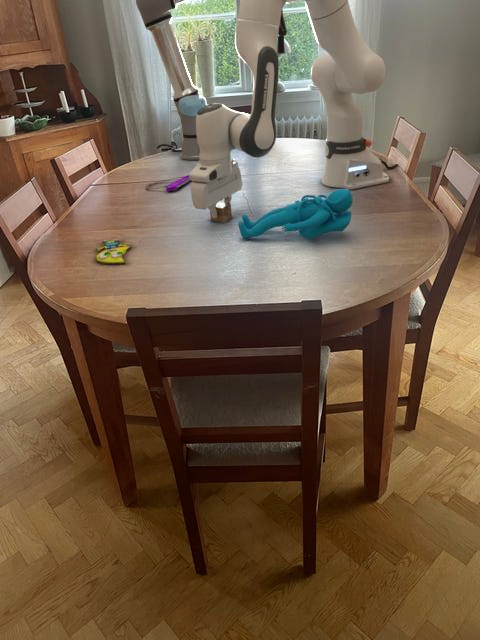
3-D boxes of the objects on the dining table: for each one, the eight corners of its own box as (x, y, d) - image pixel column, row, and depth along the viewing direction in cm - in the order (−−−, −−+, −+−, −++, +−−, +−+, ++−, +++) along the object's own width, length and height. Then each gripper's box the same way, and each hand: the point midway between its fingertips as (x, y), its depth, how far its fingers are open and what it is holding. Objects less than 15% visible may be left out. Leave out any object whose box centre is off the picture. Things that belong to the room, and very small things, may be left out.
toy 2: (244, 202, 136) (351, 176, 125) (255, 236, 141) (358, 213, 131) (231, 226, 122) (349, 198, 112) (243, 263, 127) (358, 239, 117)
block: (219, 215, 147) (217, 201, 144) (232, 217, 144) (230, 203, 142) (210, 220, 144) (209, 206, 141) (223, 223, 141) (222, 208, 139)
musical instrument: (142, 197, 170) (197, 185, 167) (141, 191, 169) (195, 179, 166) (155, 181, 191) (204, 170, 188) (154, 176, 190) (202, 165, 187)
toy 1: (135, 237, 135) (125, 260, 122) (135, 240, 135) (125, 263, 123) (99, 239, 135) (85, 263, 122) (100, 242, 135) (86, 266, 123)
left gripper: (278, -5, 204) (280, 51, 216) (246, -3, 188) (250, 58, 199) (294, -7, 201) (295, 51, 212) (263, -5, 184) (265, 58, 195)
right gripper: (228, 156, 144) (231, 201, 152) (185, 176, 130) (191, 224, 138) (245, 158, 141) (248, 203, 148) (203, 178, 127) (209, 227, 135)
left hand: (273, 55), depth 206 cm, fingers open, 13 cm apart
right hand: (220, 213), depth 143 cm, fingers closed on block, 4 cm apart
